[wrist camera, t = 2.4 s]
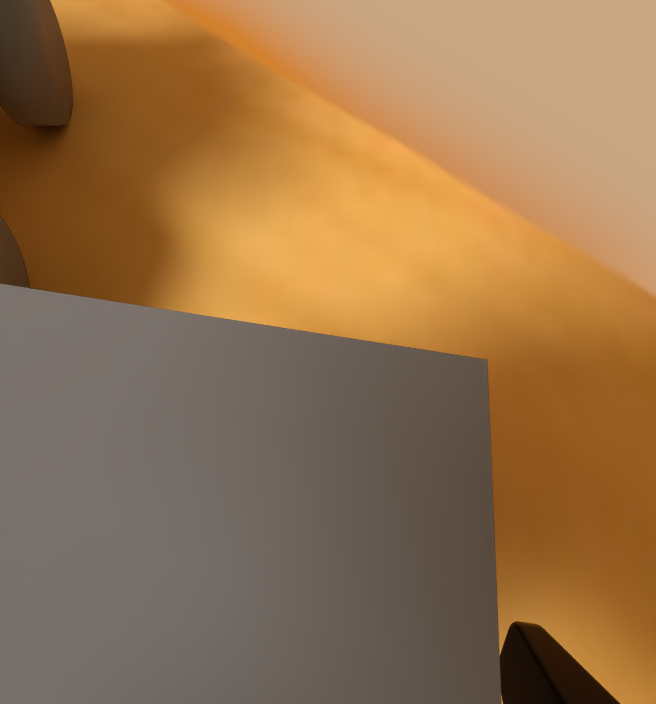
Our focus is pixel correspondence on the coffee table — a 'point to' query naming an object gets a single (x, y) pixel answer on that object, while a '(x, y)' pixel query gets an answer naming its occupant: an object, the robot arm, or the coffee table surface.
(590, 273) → the coffee table surface
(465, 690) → the grey box
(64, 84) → the trolley
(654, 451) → the coffee table surface
